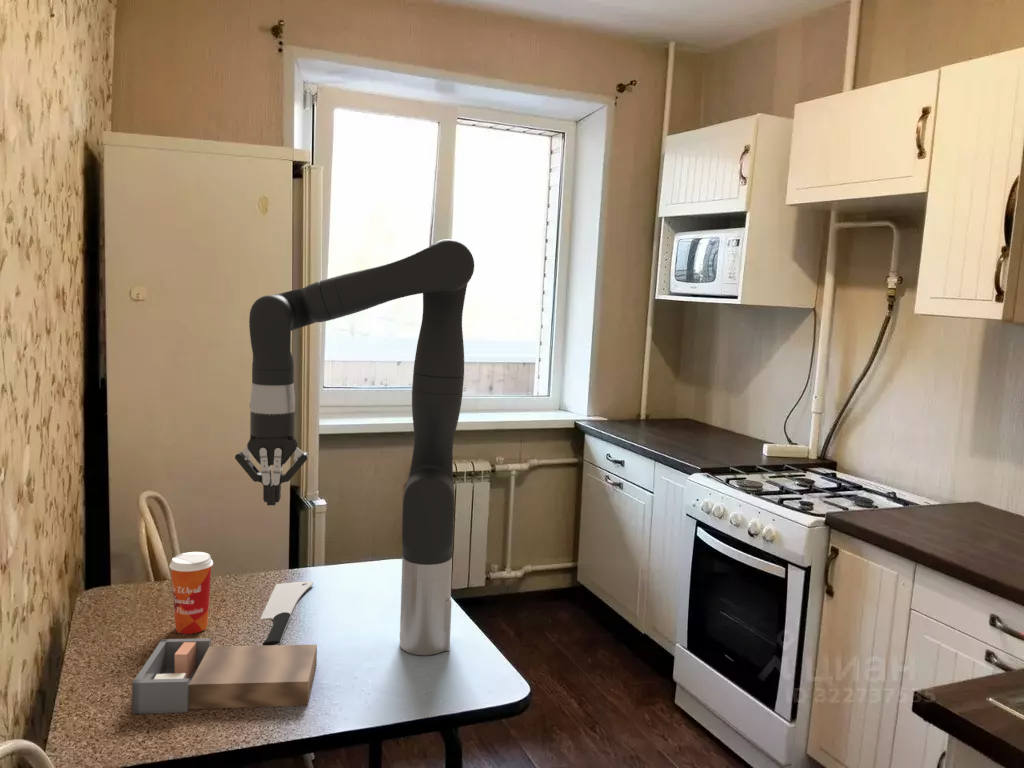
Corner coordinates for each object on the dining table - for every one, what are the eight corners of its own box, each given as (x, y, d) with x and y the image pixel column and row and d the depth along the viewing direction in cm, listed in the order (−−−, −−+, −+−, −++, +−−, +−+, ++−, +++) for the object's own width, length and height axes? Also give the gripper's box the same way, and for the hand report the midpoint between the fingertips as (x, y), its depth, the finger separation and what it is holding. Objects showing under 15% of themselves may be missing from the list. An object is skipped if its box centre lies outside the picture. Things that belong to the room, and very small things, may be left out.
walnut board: (316, 666, 137) (316, 644, 137) (307, 705, 124) (308, 681, 124) (209, 668, 134) (209, 646, 134) (189, 708, 122) (189, 684, 121)
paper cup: (160, 633, 147) (160, 561, 145) (187, 617, 154) (186, 548, 153) (197, 639, 145) (197, 566, 143) (222, 623, 152) (222, 553, 151)
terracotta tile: (196, 642, 133) (184, 642, 133) (186, 654, 129) (174, 654, 129) (196, 667, 134) (184, 667, 134) (187, 680, 129) (174, 680, 129)
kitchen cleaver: (268, 581, 173) (313, 576, 174) (269, 588, 173) (314, 584, 174) (230, 645, 142) (285, 639, 143) (231, 654, 143) (286, 648, 143)
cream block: (156, 674, 127) (156, 685, 127) (148, 687, 123) (148, 700, 123) (185, 672, 128) (185, 684, 128) (179, 686, 123) (179, 698, 124)
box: (210, 665, 135) (210, 638, 135) (187, 712, 121) (187, 681, 120) (162, 667, 134) (161, 639, 134) (132, 713, 120) (132, 683, 119)
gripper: (313, 406, 143) (312, 499, 145) (238, 404, 141) (237, 498, 143) (308, 413, 135) (307, 510, 137) (229, 411, 133) (228, 510, 135)
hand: (271, 504), depth 140 cm, fingers closed
